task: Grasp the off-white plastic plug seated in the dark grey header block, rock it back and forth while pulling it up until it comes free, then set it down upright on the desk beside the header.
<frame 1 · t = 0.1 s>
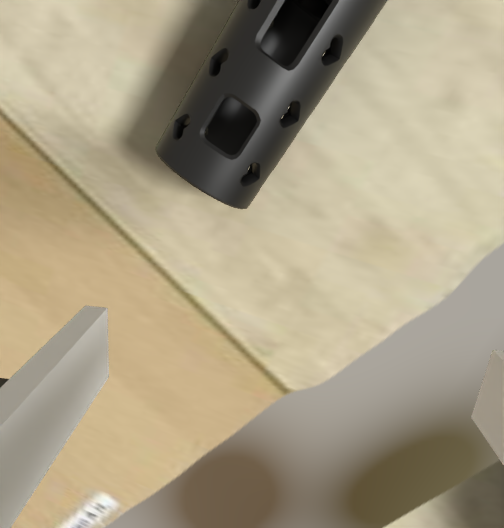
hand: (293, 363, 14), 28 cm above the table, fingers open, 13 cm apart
muzzle brake: (297, 35, 36), on the table
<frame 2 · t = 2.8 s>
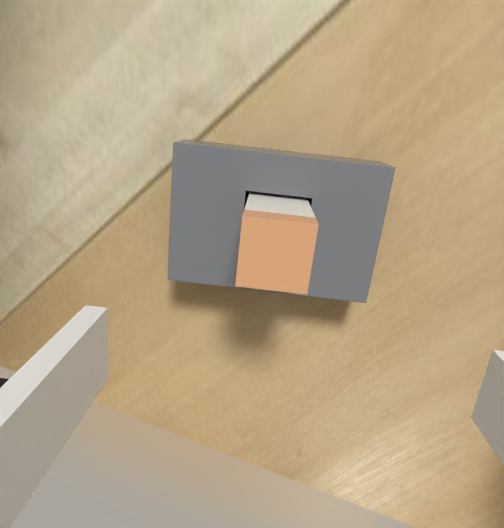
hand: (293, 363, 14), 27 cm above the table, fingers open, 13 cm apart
plug: (274, 216, 39), point 1 cm above the table, touching header
header: (274, 214, 40), on the table
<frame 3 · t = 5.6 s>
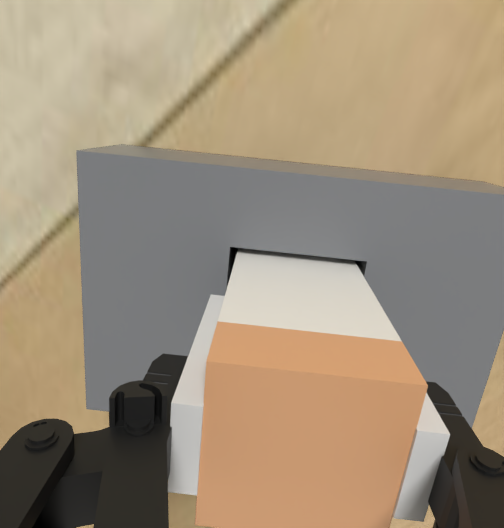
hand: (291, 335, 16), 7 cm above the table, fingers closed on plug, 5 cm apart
plug: (286, 283, 22), point 1 cm above the table, touching gripper, header
header: (286, 275, 23), on the table
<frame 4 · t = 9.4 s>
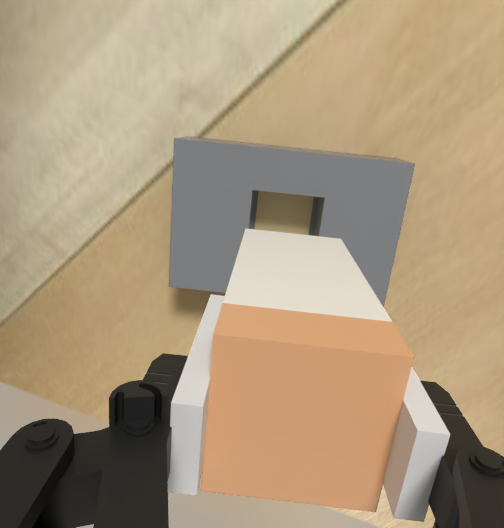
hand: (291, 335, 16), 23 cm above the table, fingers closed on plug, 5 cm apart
plug: (287, 278, 23), point 16 cm above the table, touching gripper
header: (282, 215, 38), on the table
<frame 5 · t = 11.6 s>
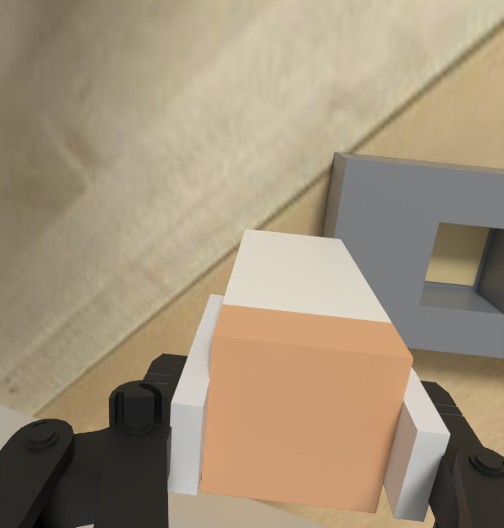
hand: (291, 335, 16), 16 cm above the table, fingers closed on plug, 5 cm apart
plug: (287, 278, 23), point 9 cm above the table, touching gripper
header: (442, 247, 31), on the table
when the fingers open (7 cm above the table, at t = 13.4 s): plug stays where it is, on the table.
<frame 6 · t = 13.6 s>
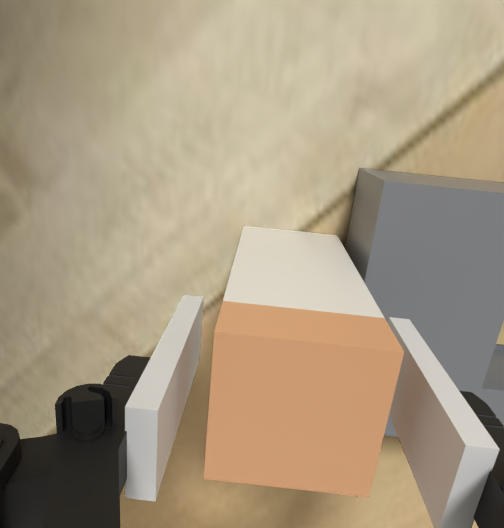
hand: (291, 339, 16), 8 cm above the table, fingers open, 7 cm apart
plug: (284, 273, 23), on the table
header: (503, 295, 23), on the table
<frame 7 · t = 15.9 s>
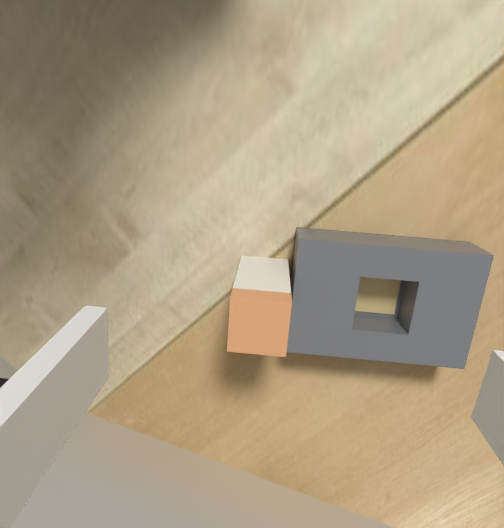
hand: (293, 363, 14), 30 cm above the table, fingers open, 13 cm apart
plug: (263, 279, 46), on the table
header: (373, 288, 45), on the table
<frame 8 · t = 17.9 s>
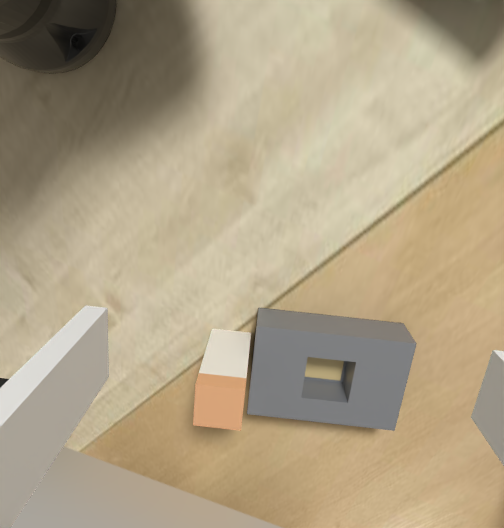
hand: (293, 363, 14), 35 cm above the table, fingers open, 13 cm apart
plug: (230, 347, 54), on the table
header: (323, 357, 53), on the table
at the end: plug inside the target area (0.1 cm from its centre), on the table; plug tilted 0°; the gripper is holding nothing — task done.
